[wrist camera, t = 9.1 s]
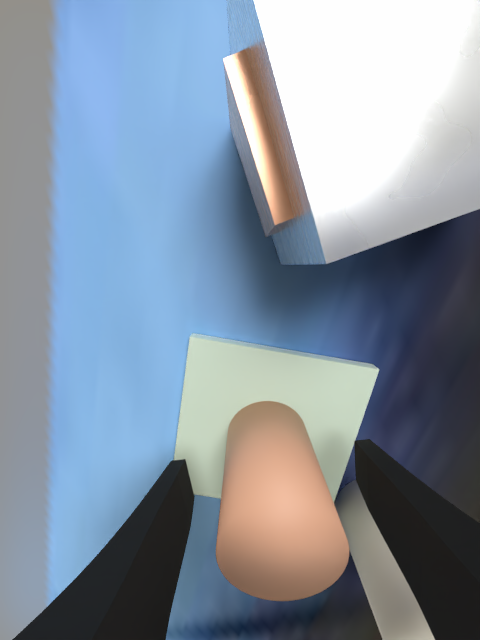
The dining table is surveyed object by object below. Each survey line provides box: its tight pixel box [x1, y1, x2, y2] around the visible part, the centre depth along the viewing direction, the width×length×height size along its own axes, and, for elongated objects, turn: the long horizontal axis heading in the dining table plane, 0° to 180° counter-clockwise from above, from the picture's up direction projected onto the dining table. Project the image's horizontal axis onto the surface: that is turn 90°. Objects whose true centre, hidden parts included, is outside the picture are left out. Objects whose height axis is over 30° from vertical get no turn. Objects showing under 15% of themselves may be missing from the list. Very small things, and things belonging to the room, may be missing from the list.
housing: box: [223, 0, 480, 265], centre depth 7 cm, size 9×6×6 cm
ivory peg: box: [335, 480, 435, 640], centre depth 11 cm, size 4×4×5 cm
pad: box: [174, 333, 379, 502], centre depth 12 cm, size 9×9×1 cm
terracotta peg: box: [216, 401, 349, 601], centre depth 9 cm, size 4×4×5 cm
